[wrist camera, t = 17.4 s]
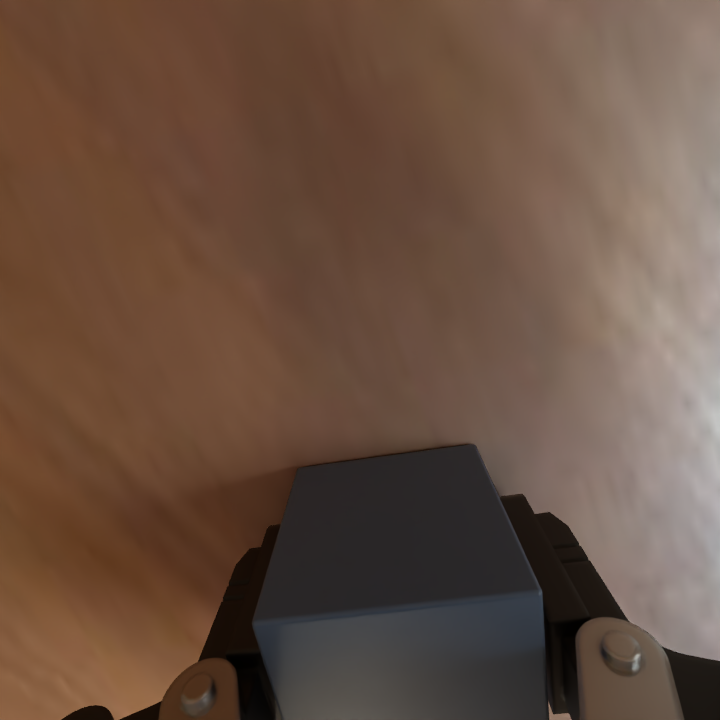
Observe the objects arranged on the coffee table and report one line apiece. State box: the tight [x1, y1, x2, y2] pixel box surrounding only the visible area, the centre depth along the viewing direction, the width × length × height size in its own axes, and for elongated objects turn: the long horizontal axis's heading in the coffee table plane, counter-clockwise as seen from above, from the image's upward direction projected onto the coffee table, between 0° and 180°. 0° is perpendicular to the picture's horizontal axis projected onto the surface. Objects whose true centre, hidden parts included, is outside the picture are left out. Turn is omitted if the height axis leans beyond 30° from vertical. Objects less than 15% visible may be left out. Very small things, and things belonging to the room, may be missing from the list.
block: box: [252, 444, 549, 720], centre depth 9 cm, size 4×4×4 cm
